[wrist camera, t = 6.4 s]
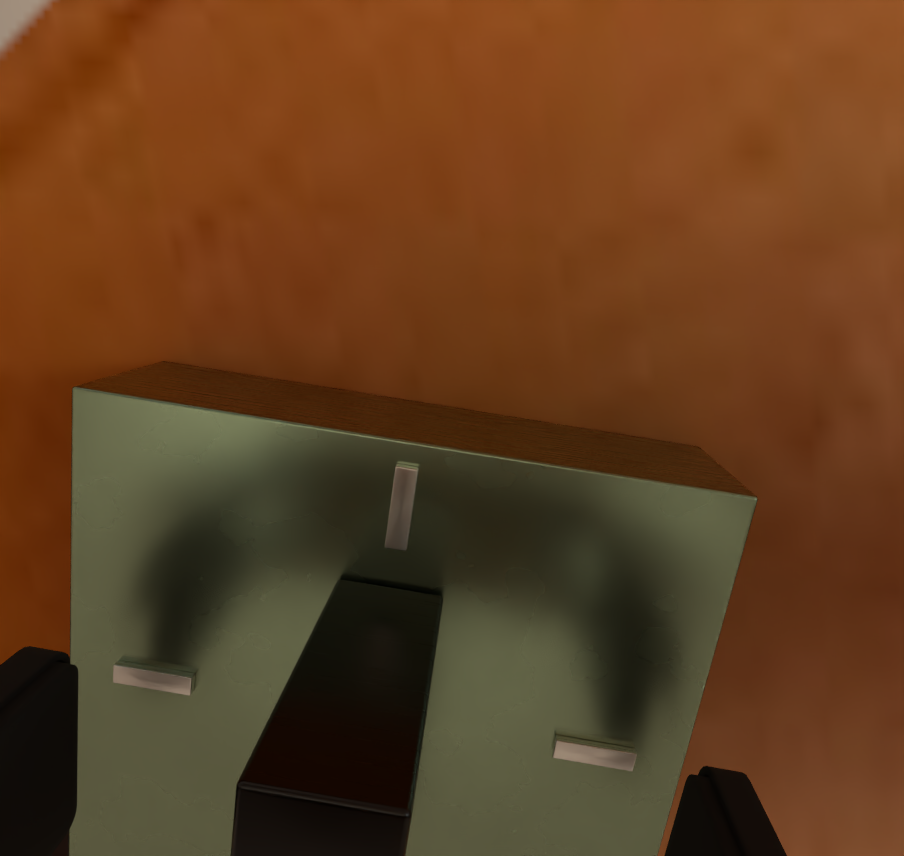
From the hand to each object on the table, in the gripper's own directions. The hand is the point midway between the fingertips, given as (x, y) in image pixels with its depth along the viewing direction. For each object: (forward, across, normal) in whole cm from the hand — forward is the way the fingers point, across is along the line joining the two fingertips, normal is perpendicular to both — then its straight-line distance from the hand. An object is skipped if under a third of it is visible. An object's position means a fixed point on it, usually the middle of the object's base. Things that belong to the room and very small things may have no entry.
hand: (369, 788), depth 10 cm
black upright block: (+2, 0, 0) cm, 2 cm away
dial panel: (+5, 0, 0) cm, 5 cm away
